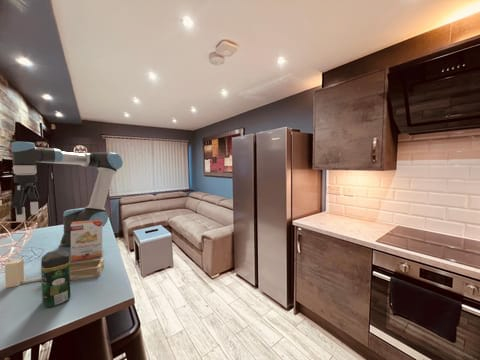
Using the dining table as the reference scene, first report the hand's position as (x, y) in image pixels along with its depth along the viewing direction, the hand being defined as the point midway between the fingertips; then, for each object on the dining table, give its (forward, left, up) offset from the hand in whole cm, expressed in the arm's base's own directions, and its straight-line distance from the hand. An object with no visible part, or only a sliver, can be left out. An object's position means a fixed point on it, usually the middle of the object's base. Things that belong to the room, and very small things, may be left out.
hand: (28, 217), depth 97 cm
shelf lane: (+15, +24, -26) cm, 38 cm away
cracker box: (-5, +22, -26) cm, 35 cm away
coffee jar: (+35, +21, -26) cm, 48 cm away
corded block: (+15, +8, -26) cm, 31 cm away
